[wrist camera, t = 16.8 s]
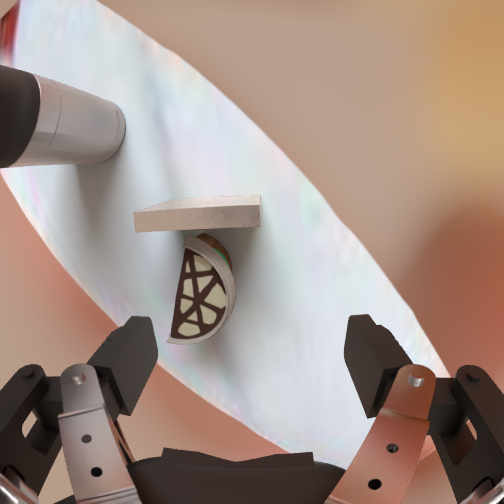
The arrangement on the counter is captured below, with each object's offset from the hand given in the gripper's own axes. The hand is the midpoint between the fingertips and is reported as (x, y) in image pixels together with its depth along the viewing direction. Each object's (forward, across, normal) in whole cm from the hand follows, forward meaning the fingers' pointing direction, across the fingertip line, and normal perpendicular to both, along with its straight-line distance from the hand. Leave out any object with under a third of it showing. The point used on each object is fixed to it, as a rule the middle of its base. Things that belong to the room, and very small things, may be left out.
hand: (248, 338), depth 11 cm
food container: (+26, +5, +6) cm, 27 cm away
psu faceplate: (+25, +5, -3) cm, 26 cm away
